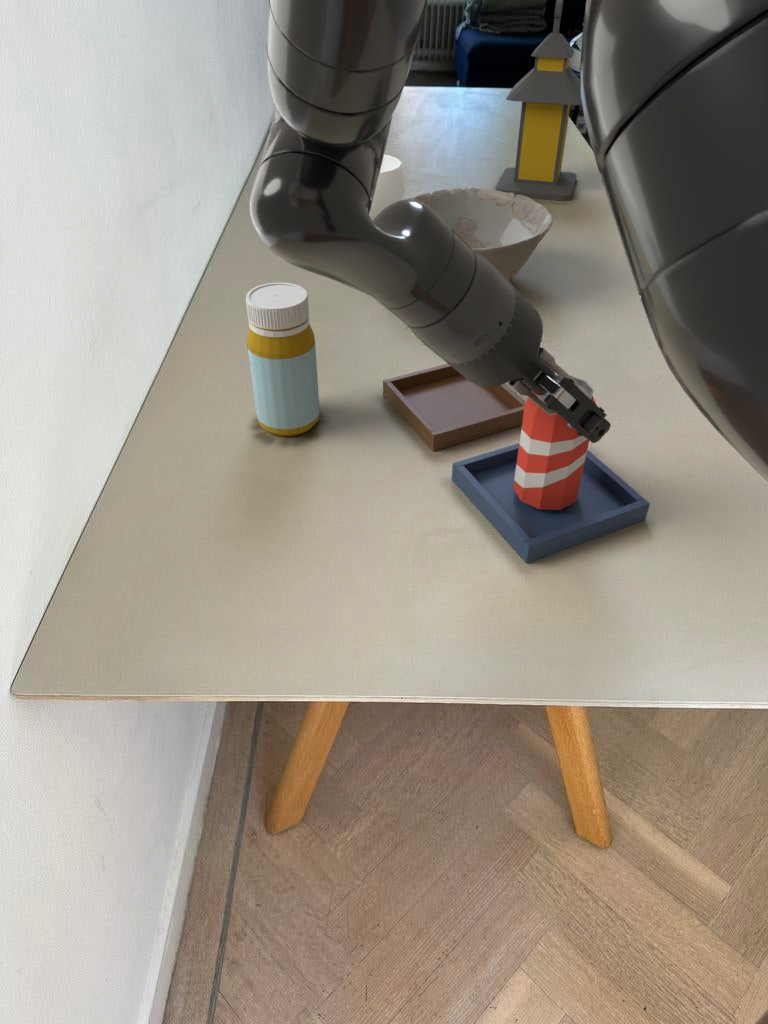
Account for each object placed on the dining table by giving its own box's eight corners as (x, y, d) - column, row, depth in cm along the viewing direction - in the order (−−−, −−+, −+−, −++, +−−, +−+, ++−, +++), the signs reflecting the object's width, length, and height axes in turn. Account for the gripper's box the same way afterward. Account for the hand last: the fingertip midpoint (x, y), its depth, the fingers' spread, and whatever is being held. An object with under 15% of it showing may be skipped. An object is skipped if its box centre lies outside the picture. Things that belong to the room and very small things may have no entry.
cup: (322, 215, 134) (319, 157, 128) (385, 205, 138) (385, 148, 132) (350, 239, 126) (348, 178, 120) (416, 228, 130) (417, 168, 123)
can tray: (645, 520, 73) (650, 503, 71) (526, 563, 68) (529, 546, 67) (561, 445, 82) (564, 429, 80) (451, 479, 77) (452, 462, 76)
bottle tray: (530, 423, 85) (532, 407, 84) (432, 451, 81) (433, 435, 80) (473, 371, 94) (474, 356, 92) (382, 395, 89) (382, 379, 88)
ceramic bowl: (413, 324, 103) (415, 252, 97) (381, 257, 120) (380, 192, 114) (567, 309, 106) (579, 238, 100) (514, 246, 123) (521, 183, 117)
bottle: (330, 427, 84) (323, 300, 75) (273, 445, 82) (257, 317, 72) (303, 397, 89) (293, 275, 79) (248, 414, 86) (230, 289, 77)
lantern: (576, 177, 150) (605, -5, 130) (569, 201, 140) (600, 7, 120) (505, 171, 153) (523, -8, 133) (494, 194, 143) (511, 3, 123)
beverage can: (509, 475, 77) (523, 371, 69) (573, 476, 77) (594, 372, 69) (515, 514, 72) (530, 407, 64) (582, 515, 72) (606, 409, 64)
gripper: (560, 315, 52) (654, 416, 63) (456, 243, 61) (553, 342, 73) (487, 400, 53) (591, 484, 65) (397, 317, 63) (501, 402, 74)
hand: (571, 408), depth 69 cm, fingers open, 8 cm apart
